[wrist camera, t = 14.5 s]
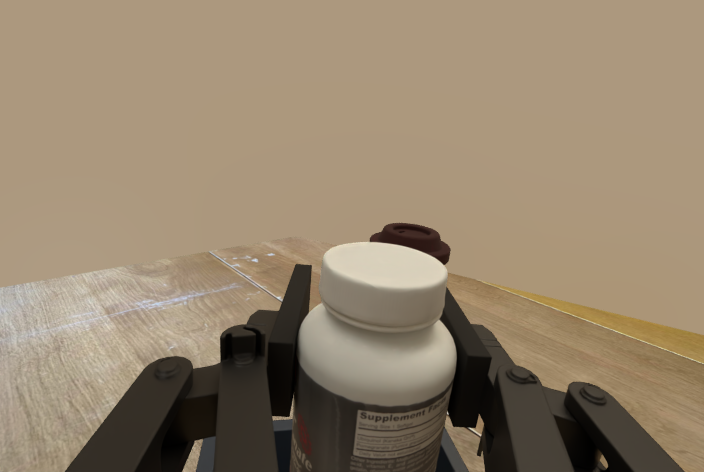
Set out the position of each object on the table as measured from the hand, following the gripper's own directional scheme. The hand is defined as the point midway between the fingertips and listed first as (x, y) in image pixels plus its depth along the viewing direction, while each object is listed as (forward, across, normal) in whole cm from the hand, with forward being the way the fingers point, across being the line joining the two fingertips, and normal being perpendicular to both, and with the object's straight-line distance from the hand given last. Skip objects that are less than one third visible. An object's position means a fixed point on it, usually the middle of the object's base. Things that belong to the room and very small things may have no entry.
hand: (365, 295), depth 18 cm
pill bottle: (-5, 0, -6) cm, 8 cm away
